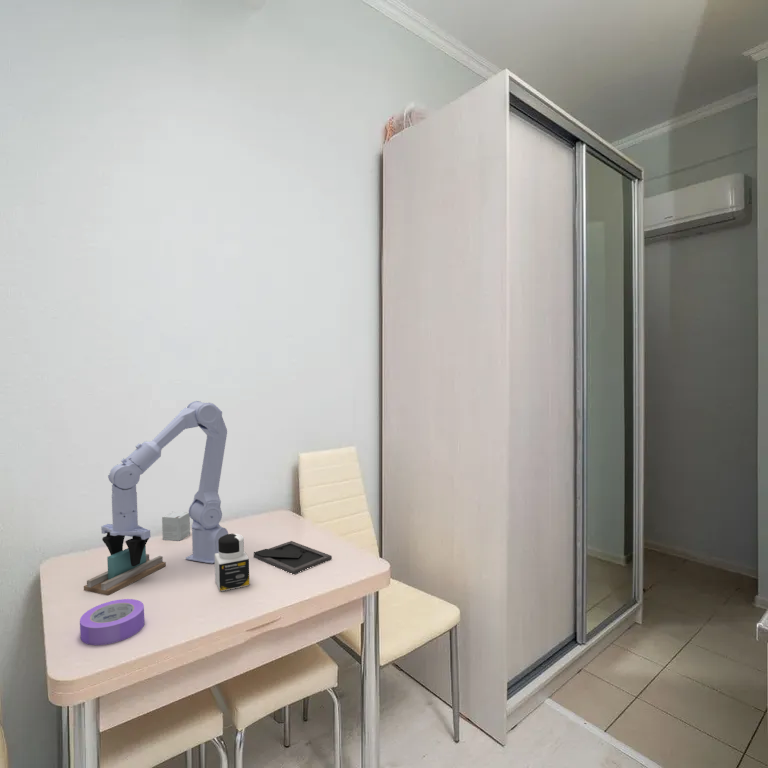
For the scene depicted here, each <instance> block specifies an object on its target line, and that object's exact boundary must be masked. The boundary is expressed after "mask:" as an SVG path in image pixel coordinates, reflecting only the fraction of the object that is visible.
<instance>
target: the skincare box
mask: <svg viewBox="0 0 768 768" xmlns="http://www.w3.org/2000/svg"><path fill="white" fill-rule="evenodd" d="M190 519H191V518H190V516H189V511H188V512H185V511H171V512H169V513H168V514H166V515H164V516H162V518H161V526H162V528H161V529H162V530H161V531H162V540H163V541H177V542H179V541H182V540H183V539H185V538H186V537H188V536H189V535H191V525H190V524H191V521H190Z"/></svg>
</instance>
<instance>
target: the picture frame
mask: <svg viewBox="0 0 768 768" xmlns="http://www.w3.org/2000/svg"><path fill="white" fill-rule="evenodd" d="M332 557H333V556H332V555H330V554H328V553H326V552H323V551H320V550H317V549H315V548H311V547H309V546H306V545H304V544H300V543H298V542H295V541H293V540H290V541H287V542H284V543H281V544H279V545H275V546H273V547H269V548H263V549H261V550H257V551H253V559H256V560H258V561H261V562H263V563H266V564H267V565H270V566H273V567H274V566H275V568H277V569H279V570H281V569H282V570H281V571H283V570H284V571H283V572H286V571H287V572H286V573H288V572H289V573H288V574H290V573H292V574H291V575H293V574H295V575H296V573H297V574H299V573H298V572H300V571H302V570H304V571H306V570H305V569H307V568H309V569H311V568H310V567H312V566H314V567H316V566H315V565H317V564H319V565H321V564H320V563H322V564H324V563H326V562H325V561H327V562H329V561H331V559H332ZM328 560H329V561H328ZM332 560H333V559H332ZM323 562H324V563H323ZM317 566H318V565H317ZM312 568H313V567H312ZM307 570H308V569H307ZM302 572H303V571H302ZM300 573H301V572H300Z"/></svg>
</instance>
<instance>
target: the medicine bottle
mask: <svg viewBox="0 0 768 768" xmlns="http://www.w3.org/2000/svg"><path fill="white" fill-rule="evenodd" d="M218 546H219V553H216V554H215V563H214V580H215V584H216V585H217V589H218V590H219V592H220V591H222V592H226V591H230V589H231V590H235V588H236V589H240V587H241V588H244V587H249V586H250V558H249V556H248V554H247V553H246V552H245V537H244V536H243V535H242V534H239V533H228V534H227V535H224V536H222V537H220V539H219V540H218ZM225 590H226V591H225Z"/></svg>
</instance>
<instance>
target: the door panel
mask: <svg viewBox="0 0 768 768" xmlns="http://www.w3.org/2000/svg"><path fill="white" fill-rule="evenodd" d="M146 545H147V544H146ZM146 545H145V547H144V550H143V553H142V556H141V561H140V564H138V565H136V566H131V561H130V553H129V549H128V547H127V548H126V549H125V548H124V549H123V550H122V551H120V552H118V553H115V554H113V555H111V554H110V555H109V556H107V557H106V560H107V571H108V580H109V579H112V578H114V577H116V576H118V575H120V574H122V573H124V572H126V571H128V570H130V569H133V568H135V567H137V566H139V565H141V564H143V563H145V562H146V554H147V552H146V551H147V548H146Z"/></svg>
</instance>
